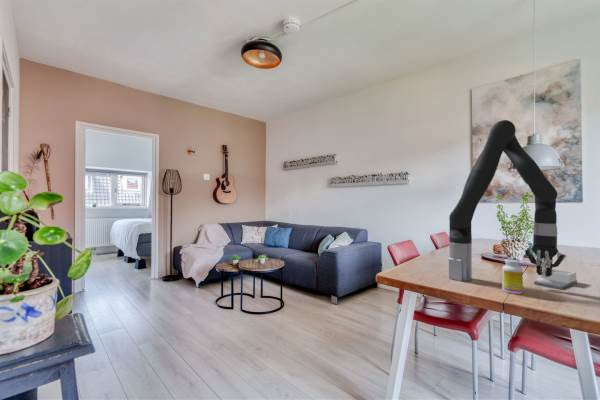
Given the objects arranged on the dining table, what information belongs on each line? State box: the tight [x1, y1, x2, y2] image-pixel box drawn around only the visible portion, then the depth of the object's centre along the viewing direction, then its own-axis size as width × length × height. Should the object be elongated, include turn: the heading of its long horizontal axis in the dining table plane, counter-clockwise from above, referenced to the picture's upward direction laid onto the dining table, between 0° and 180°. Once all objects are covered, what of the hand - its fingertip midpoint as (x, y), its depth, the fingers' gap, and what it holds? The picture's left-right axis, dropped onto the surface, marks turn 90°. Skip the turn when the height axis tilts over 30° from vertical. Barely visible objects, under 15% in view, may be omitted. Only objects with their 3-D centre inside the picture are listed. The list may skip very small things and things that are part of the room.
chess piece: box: [536, 258, 552, 284], centre depth 119 cm, size 5×5×10 cm
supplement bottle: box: [501, 258, 524, 295], centre depth 116 cm, size 7×7×13 cm
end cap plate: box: [533, 268, 578, 291], centre depth 128 cm, size 20×9×5 cm, turn 122°
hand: (544, 275), depth 119 cm, fingers closed on chess piece
